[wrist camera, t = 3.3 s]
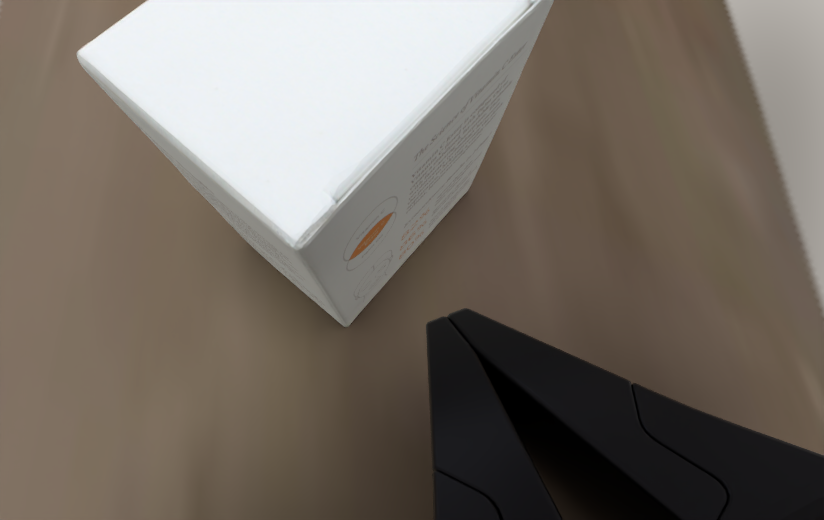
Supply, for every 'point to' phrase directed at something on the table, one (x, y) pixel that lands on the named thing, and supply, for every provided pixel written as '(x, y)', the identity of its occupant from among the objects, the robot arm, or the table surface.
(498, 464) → the robot arm
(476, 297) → the table surface
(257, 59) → the small box
